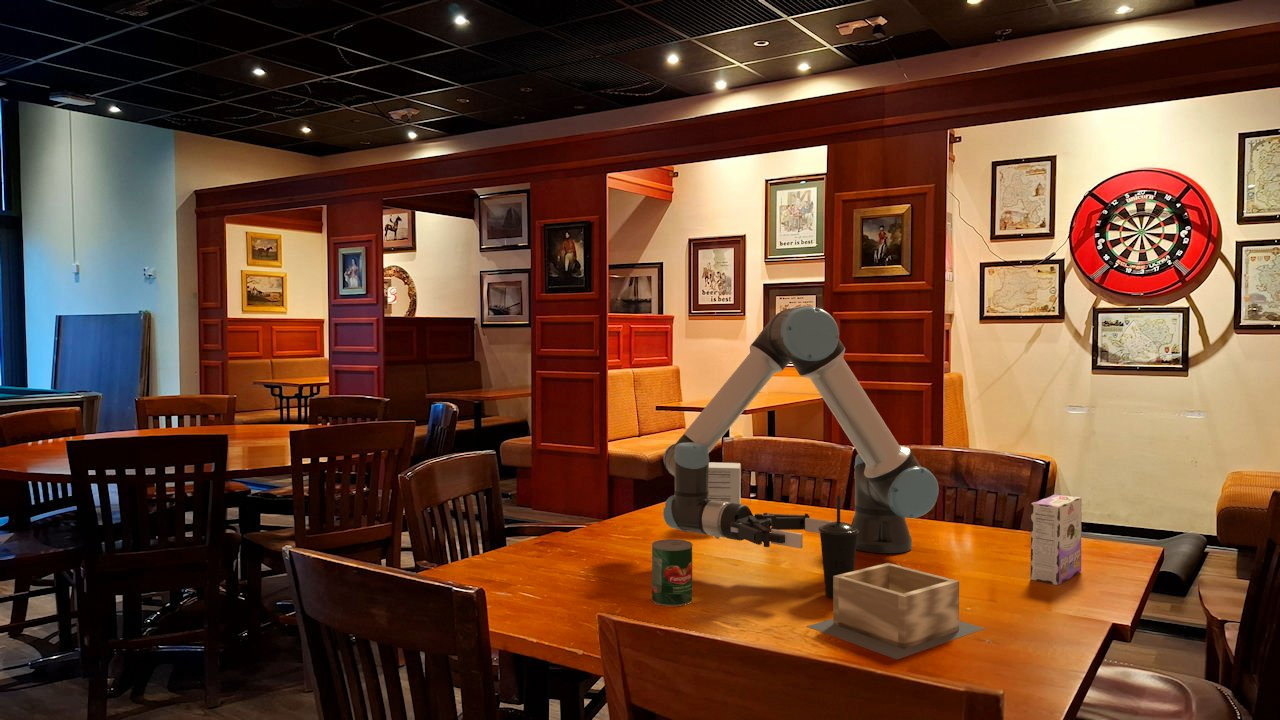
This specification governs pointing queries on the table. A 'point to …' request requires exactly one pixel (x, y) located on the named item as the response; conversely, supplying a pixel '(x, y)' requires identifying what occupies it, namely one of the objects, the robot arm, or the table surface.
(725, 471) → the supplement box
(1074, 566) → the candy box
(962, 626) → the mat
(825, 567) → the drinking cup
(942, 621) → the holder
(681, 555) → the canned tomato
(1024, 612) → the table surface
